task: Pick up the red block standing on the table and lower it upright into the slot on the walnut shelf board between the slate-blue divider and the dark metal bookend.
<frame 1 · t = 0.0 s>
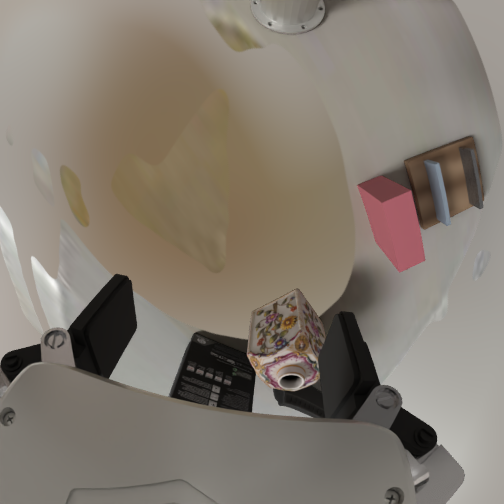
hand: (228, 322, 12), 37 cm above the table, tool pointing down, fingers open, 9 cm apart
shelf board: (447, 180, 42), on the table
bookend: (462, 174, 41), resting on shelf board
red block: (378, 209, 46), on the table
graphics card box: (221, 351, 64), on the table
decorative jar: (287, 316, 58), on the table
divider: (429, 188, 43), resting on shelf board
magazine: (311, 389, 69), on the table
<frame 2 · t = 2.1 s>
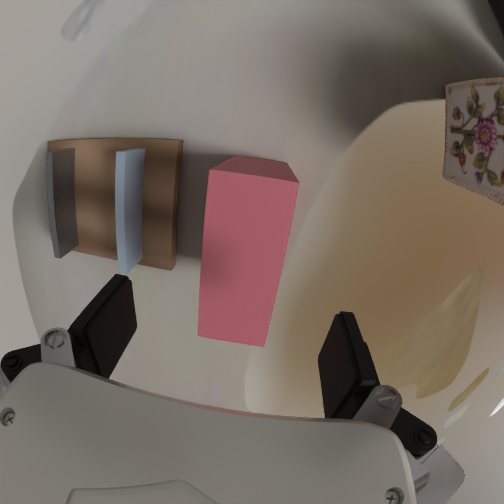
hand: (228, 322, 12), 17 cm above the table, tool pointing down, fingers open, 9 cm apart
shelf board: (107, 197, 28), on the table
bookend: (79, 195, 28), resting on shelf board
red block: (252, 216, 28), on the table
decorative jar: (475, 141, 22), on the table
divider: (144, 201, 28), resting on shelf board
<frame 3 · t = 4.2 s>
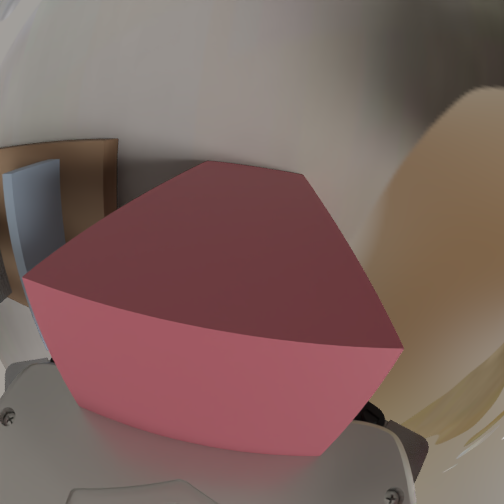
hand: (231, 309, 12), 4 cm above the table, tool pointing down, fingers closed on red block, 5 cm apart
shelf board: (32, 231, 16), on the table
bookend: (5, 225, 16), resting on shelf board
red block: (240, 268, 16), on the table, touching gripper
divider: (74, 240, 16), resting on shelf board
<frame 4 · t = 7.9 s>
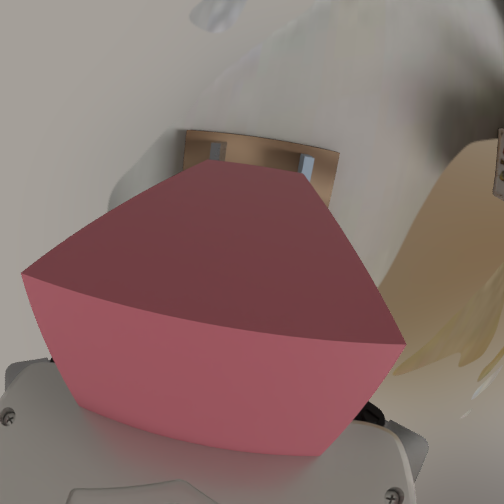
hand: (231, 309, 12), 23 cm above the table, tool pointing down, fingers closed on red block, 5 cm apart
shelf board: (255, 193, 33), on the table
bookend: (219, 188, 33), resting on shelf board
red block: (240, 267, 16), point 19 cm above the table, touching gripper
divider: (294, 199, 33), resting on shelf board
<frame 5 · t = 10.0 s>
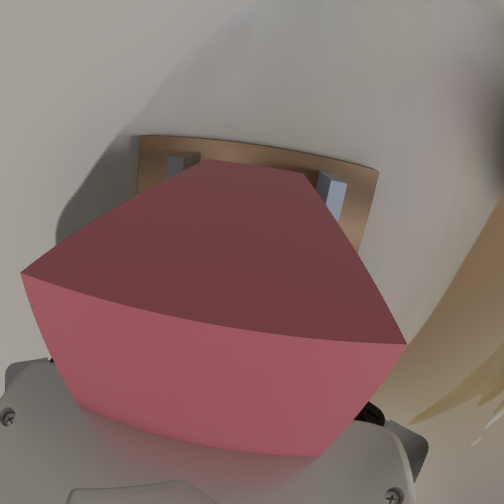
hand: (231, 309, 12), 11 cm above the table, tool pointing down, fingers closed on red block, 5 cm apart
shelf board: (246, 230, 22), on the table
bookend: (193, 222, 22), resting on shelf board
red block: (240, 267, 16), point 7 cm above the table, touching gripper
divider: (307, 240, 22), resting on shelf board
when the fingers open (7 cm above the table, at t = 11.7 s): red block drops 1 cm, resting on shelf board.
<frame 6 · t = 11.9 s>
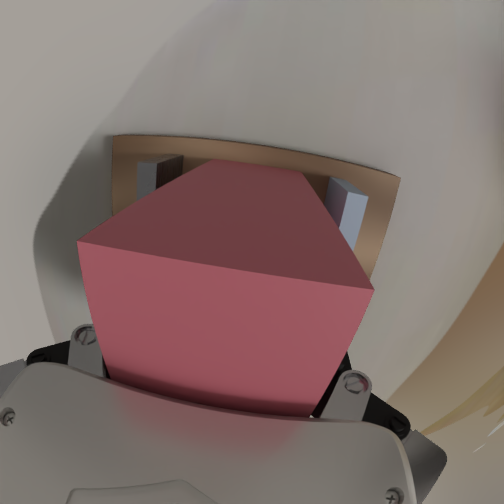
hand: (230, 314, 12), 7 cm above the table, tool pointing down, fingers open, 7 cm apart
shelf board: (241, 247, 19), on the table
bookend: (178, 237, 19), resting on shelf board
red block: (243, 259, 17), point 1 cm above the table, touching shelf board
divider: (312, 258, 19), resting on shelf board
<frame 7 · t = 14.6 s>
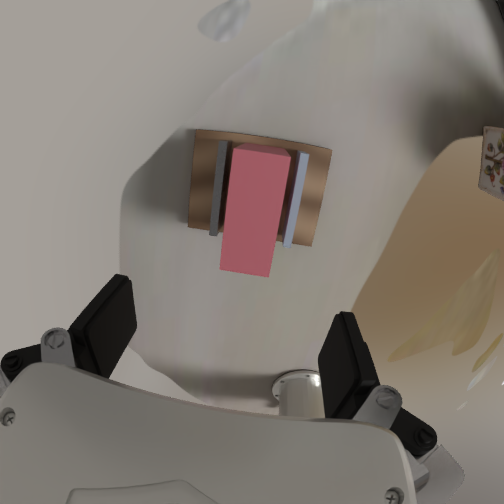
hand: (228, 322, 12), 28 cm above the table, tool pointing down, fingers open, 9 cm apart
shelf board: (257, 186, 37), on the table
bookend: (225, 181, 37), resting on shelf board
red block: (258, 189, 36), point 1 cm above the table, touching shelf board
decorative jar: (498, 163, 31), on the table
divider: (292, 192, 37), resting on shelf board
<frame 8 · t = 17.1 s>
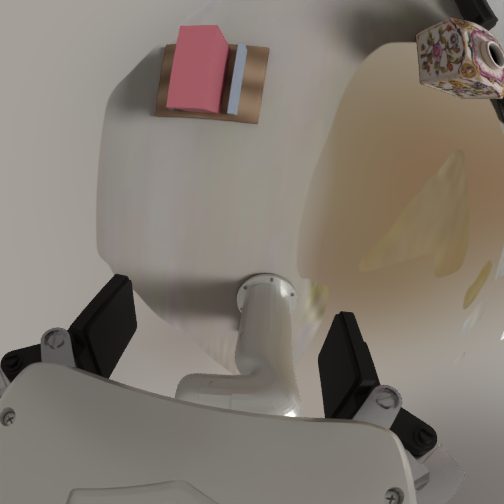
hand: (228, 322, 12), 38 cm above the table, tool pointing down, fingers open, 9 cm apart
shelf board: (211, 81, 39), on the table
red block: (211, 80, 38), point 1 cm above the table, touching shelf board
graphics card box: (498, 90, 31), on the table
decorative jar: (439, 67, 33), on the table
divider: (240, 83, 39), resting on shelf board
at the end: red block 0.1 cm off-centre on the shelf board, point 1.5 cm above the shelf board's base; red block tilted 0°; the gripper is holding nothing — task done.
